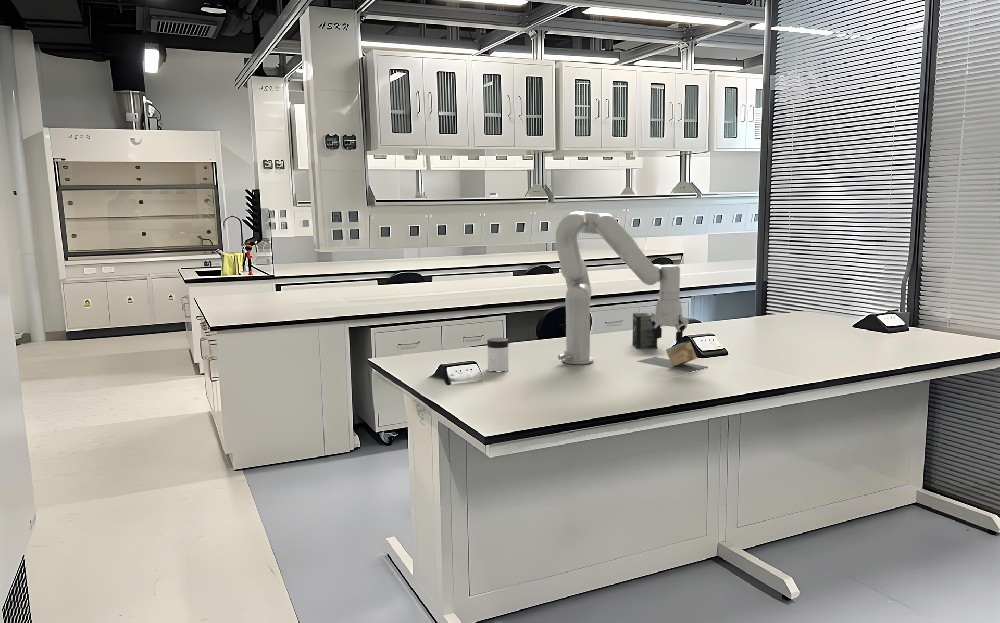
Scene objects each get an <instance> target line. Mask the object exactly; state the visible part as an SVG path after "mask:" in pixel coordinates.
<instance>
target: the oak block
mask: <svg viewBox="0 0 1000 623" xmlns="http://www.w3.org/2000/svg"><path fill="white" fill-rule="evenodd" d="M665 351H666V353H667V356H668V357H667V358H669V360H670V362H671V364H672V367H673V366H677V365H681V364H684V363H689V362H691V361H693V360H696V359H698V358H697V355H696V352H695V350H694V347H693V345H692V342H691V341H685V342H681V343H680V342H679V343H678V344H675V345H673V346H671V347H669V348H667V349H665Z"/></svg>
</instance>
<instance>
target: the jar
mask: <svg viewBox="0 0 1000 623" xmlns="http://www.w3.org/2000/svg"><path fill="white" fill-rule="evenodd" d="M486 344H487V345H486V346H487V371H488V370H491V371H505V372H507V371H506V370H508V371H509V338H507V337H506V338H505V337H490V338H488V339H487V340H486Z"/></svg>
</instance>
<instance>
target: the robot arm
mask: <svg viewBox="0 0 1000 623" xmlns="http://www.w3.org/2000/svg"><path fill="white" fill-rule="evenodd" d="M580 233H581V234H592V235H599V236H600V237H601V238H602V240H603V241H604V242H605V243H607V245H609V247H610V248H611V249H612V251H613V252H615V253H616V255H617V256H618V257H619V258H620V260H621V261H623V262H624V263H625V264H626V266H628V268H629V269H630V270H631V271H632V272H633V273H634V275H636V277H637V278H638V279H639V280H640V282H642V283H643V284H644V285H647V286H653V285H655V284H657V283H658V282H659V292H657V296H659V299H657V302H656V305H655V313H654V314H655V315H653V316H651V317H650V319H651V321H652V324H653V326H654V328H655V338H656V339H657V340H658V339H661V338H662V336H663V335H662V334H663V332H662V331H663V330H662V329H663V328H662V326H664V327H671V328H675V329H676V333H675V342H677V343H678V342H679V343H680V342H682V341H683V337H684V336H683V333H684V331H685V329H687V328H688V324H689V322H690V321H689V320H688V319H687V318H685V317H684V316H683V305H682V301H681V300H680V294H681V293H680V290H681V289H680V288H681V287H680V286H681V284H680V283H681V267H680V266H679V265H678V264H653V262H652V261H651V260H650V259H649V258H648V257H647V256H646V255H645V253H644V252H643V251H642V250H641V248H640V247H639V245H638V243H637V242H636V240H635V239H634V238H633V237H632V236H631V235H630V234H629V233H628V232H627V230H626V229H624V227H623V226H622V225H621V224H620V223H619V222H618V221H617V219H616V218H615V216H614V215H612V214H610V213H598V212H587V211H572V212H570V213H568V214H567V215H566V216H564V217H563V218H562V219H561V220H560V222H559V223H558V224H557V226H556V230H555V244H556V249H557V256H558V259H559V265H560V271H561V274H562V277H563V278H564V280H565V283H566V288H567V290H566V293H565V297H564V298H565V324H566V325H565V326H566V327H565V337H566V338H565V341H566V342H565V344H566V345H565V347H566V348H565V350H564V352H563V354H558V355H557V359H558V360H560V361H562V363H564V362H565V364H570V365H589V364H592V363H593V362H594V360H595V359H594V357H591V355H590V354H591V345H590V344H591V305H590V304H591V297H592V292H593V291H592V287H591V282H590V278H589V273H588V268H587V264H586V262H585V261H584V259H583V258H582V256H581V251H580V248H579V247H580V246H579V243H578V235H579V234H580Z"/></svg>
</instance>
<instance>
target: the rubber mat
mask: <svg viewBox="0 0 1000 623" xmlns="http://www.w3.org/2000/svg"><path fill="white" fill-rule="evenodd" d="M637 362H638V363H643V364H647V365H653V366H658V367H662V368H663V367H664V368H668V369H673V370H677V371H684V372H687V373H688V372H691V373H693V372H692V371H695V372H697V371H696V370H698V371H701V370H700V369H702V370H705V369H704V368H706V369H708V368H709V367H708V366H704V365H700V364H695V363H689V362H686V363H684V364H681V365H677V366H673V367H672V364H671V362H670V359H667V358H664V357H658V356H653V357H647V358H644V359H641V360H636V363H637Z"/></svg>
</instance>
